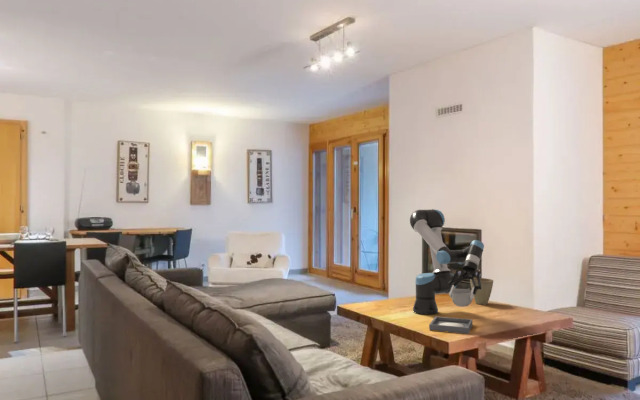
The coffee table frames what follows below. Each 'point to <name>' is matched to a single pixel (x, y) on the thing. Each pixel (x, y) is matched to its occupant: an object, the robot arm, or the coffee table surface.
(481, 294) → the plant pot
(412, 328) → the coffee table surface
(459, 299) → the teacup
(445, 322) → the tray
